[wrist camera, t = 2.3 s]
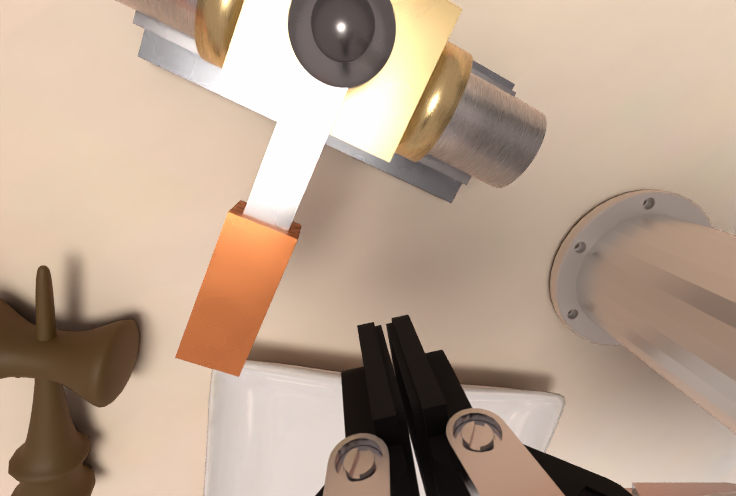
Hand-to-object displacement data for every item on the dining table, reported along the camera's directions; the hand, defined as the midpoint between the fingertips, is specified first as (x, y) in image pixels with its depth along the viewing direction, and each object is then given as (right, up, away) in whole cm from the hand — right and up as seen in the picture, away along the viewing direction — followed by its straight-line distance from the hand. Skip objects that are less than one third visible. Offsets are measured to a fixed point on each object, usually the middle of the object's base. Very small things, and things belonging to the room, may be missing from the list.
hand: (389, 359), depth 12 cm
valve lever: (-4, +6, +2) cm, 7 cm away
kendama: (-23, -6, +16) cm, 29 cm away
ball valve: (-3, +14, +11) cm, 18 cm away
